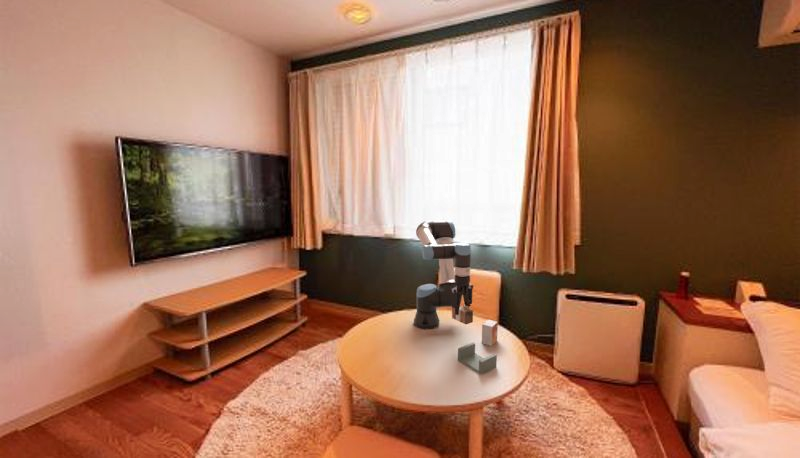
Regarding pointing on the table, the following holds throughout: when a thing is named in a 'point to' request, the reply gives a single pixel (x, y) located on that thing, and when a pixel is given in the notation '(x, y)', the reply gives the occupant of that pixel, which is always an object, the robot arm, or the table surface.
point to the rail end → (464, 315)
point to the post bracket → (476, 359)
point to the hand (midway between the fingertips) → (461, 319)
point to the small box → (489, 332)
